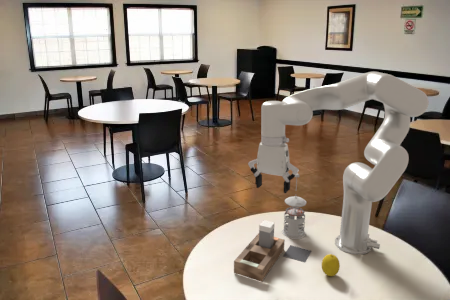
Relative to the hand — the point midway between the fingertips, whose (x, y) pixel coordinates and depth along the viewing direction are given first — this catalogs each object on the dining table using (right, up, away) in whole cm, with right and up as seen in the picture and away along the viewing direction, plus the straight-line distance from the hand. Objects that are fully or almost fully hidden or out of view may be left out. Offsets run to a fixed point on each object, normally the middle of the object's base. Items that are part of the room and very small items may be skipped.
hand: (272, 189), depth 127 cm
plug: (-1, -24, +8) cm, 25 cm away
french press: (+11, -19, +22) cm, 31 cm away
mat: (+10, -24, +7) cm, 27 cm away
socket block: (-4, -25, +3) cm, 26 cm away
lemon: (+18, -28, -4) cm, 33 cm away
